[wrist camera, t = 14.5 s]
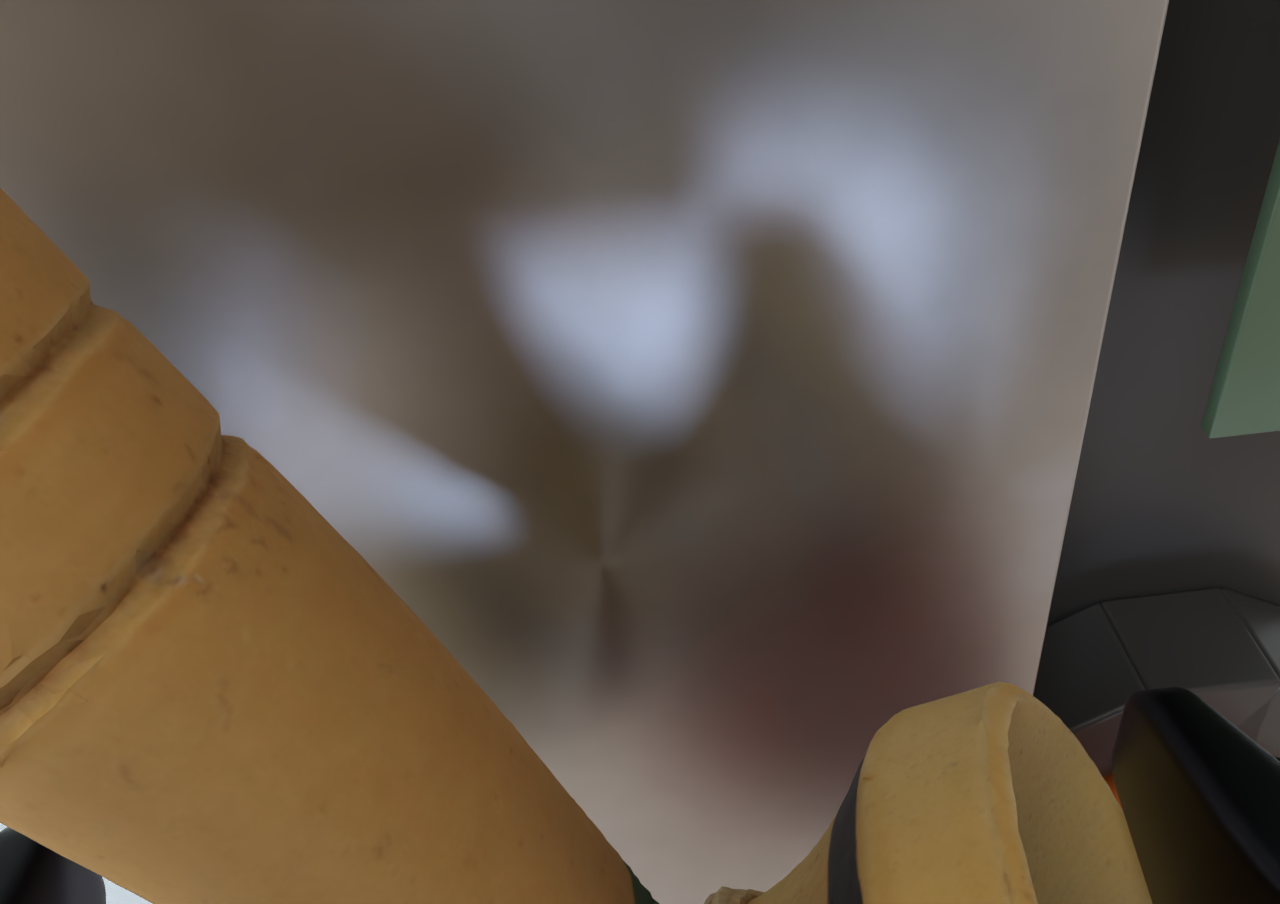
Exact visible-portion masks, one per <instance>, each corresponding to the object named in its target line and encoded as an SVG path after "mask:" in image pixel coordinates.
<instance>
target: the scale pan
mask: <svg viewBox="0 0 1280 904" xmlns="http://www.w3.org/2000/svg"><path fill="white" fill-rule="evenodd" d="M1168 4H1169V0H0V188H1V189H2V190H3V191H4V192H5V193H6V194H7V195H8V196H9V197H10V198H11V199H12V200H13V201H14V202H15V203H16V204H17V205H18V206H19V207H20V208H21V210H22V211H23V212H24V213H25V214H26V215H27V216H28V217H29V218H30V219H31V220H32V221H33V222H34V223H35V224H36V225H37V226H38V227H39V228H40V229H41V230H42V231H43V232H44V234H45V235H46V236H47V237H48V238H49V239H50V240H51V241H52V242H53V243H54V244H55V245H56V246H57V247H58V248H59V249H60V250H61V251H62V252H63V253H64V254H65V255H66V256H67V257H68V258H69V259H70V260H71V261H72V262H73V263H74V264H75V265H76V266H77V267H78V269H79V270H80V271H81V272H82V273H83V274H84V275H85V276H86V277H87V278H88V280H89V282H90V297H91V301H92V302H93V303H94V305H97V306H101V307H104V308H107V309H110V310H113V311H116V312H117V313H118V314H119V315H120V316H122V317H123V318H124V319H126V320H127V321H129V322H130V323H131V324H132V325H133V326H134V327H136V328H137V329H138V330H139V331H140V332H141V333H142V334H143V335H144V336H145V337H146V338H147V339H148V340H149V341H150V342H151V343H152V344H153V345H154V346H155V347H156V348H157V349H158V350H159V351H160V352H161V353H162V354H163V355H164V356H165V357H166V358H167V359H168V360H169V361H170V362H171V363H172V364H173V365H174V366H175V367H176V368H177V369H178V370H179V371H180V372H181V373H182V375H183V376H184V377H185V378H186V379H187V380H188V381H189V382H190V383H191V384H192V385H193V386H194V387H195V388H196V389H197V390H198V391H199V392H200V393H201V394H202V395H203V396H204V397H205V398H206V399H207V400H208V402H209V403H210V404H211V405H212V406H213V407H214V408H215V409H216V411H217V412H218V413H219V417H220V426H221V435H228V436H235V437H239V438H242V439H243V440H244V441H245V442H246V443H247V444H248V445H249V446H250V447H252V448H253V449H255V450H257V451H258V452H259V453H260V454H261V455H262V456H263V457H264V458H265V459H266V460H267V461H268V462H270V463H271V464H272V465H273V466H274V467H275V468H276V469H277V470H278V471H279V472H280V473H281V474H282V475H283V476H284V477H285V478H286V479H287V480H288V481H289V482H290V483H291V484H292V485H293V486H294V487H295V488H296V489H297V490H298V491H299V492H300V493H301V494H302V495H303V496H304V497H305V498H306V499H307V500H308V501H309V502H310V503H311V505H312V506H313V507H314V508H315V509H316V510H317V511H318V512H319V513H320V514H321V515H322V516H323V517H324V518H325V519H326V520H327V521H328V522H329V524H330V525H331V526H332V527H333V528H334V529H335V530H336V531H337V532H338V533H339V534H340V535H341V536H342V537H343V538H344V539H345V540H346V541H347V542H348V543H349V544H350V545H351V546H352V547H353V548H354V549H355V550H356V551H357V552H358V553H359V554H360V555H361V556H362V557H363V558H364V559H365V560H366V561H367V562H368V563H369V564H370V566H371V567H372V568H373V569H374V570H375V571H376V572H377V573H378V574H379V575H380V576H381V577H382V579H383V580H384V581H385V582H386V583H387V584H388V585H389V586H390V587H391V588H392V589H393V591H394V592H395V593H396V594H397V595H398V596H399V597H400V598H401V599H402V600H403V602H404V603H405V604H406V605H407V606H408V607H409V608H410V609H411V610H412V611H413V612H414V613H415V614H416V616H417V617H418V618H419V619H420V620H421V621H422V622H423V623H424V624H425V625H426V626H427V627H428V628H429V630H430V631H431V632H432V633H433V634H434V635H435V636H436V637H437V638H438V639H439V641H440V642H441V643H442V644H443V645H444V646H445V647H446V649H447V650H448V651H449V652H450V653H451V654H452V656H453V657H454V658H455V659H456V660H457V661H458V663H459V664H460V665H461V666H462V667H463V668H464V669H465V671H466V672H467V673H468V674H469V675H470V676H471V677H472V679H473V680H474V681H475V682H476V683H477V684H478V685H479V686H480V687H481V689H482V690H483V691H484V692H485V693H486V694H487V695H488V696H489V698H490V699H491V700H492V701H493V702H494V704H495V705H496V706H497V707H498V709H499V710H500V711H501V712H502V713H503V715H504V716H505V717H506V718H507V719H508V720H509V721H510V722H511V723H512V724H513V725H514V726H515V728H516V729H517V730H518V732H519V733H520V734H521V735H522V737H523V738H524V739H525V741H526V742H527V743H528V745H529V746H530V747H531V748H532V749H533V750H534V752H535V753H536V754H537V755H538V756H539V758H540V759H541V760H542V761H543V762H544V764H545V765H546V766H547V767H548V769H549V770H550V771H551V772H552V774H553V775H554V776H555V778H556V779H557V780H558V781H559V782H560V784H561V785H562V786H563V787H564V788H565V790H566V791H567V792H568V793H569V795H570V796H571V797H572V798H573V799H574V800H575V802H576V803H577V804H578V805H579V806H580V807H581V808H582V809H583V811H584V812H585V814H586V815H587V817H588V818H589V819H591V820H592V821H593V823H594V824H595V825H596V826H597V828H598V829H599V830H600V831H601V833H602V834H603V835H604V837H605V838H606V840H607V841H608V842H609V843H610V844H611V846H612V847H613V848H614V849H615V850H616V851H617V852H618V853H619V855H620V856H621V858H622V859H623V861H624V862H625V863H626V864H628V865H629V866H630V867H631V869H632V871H633V873H634V875H635V876H637V877H638V879H639V881H640V883H641V884H642V885H643V886H644V887H645V888H646V889H647V890H648V891H650V893H651V895H652V898H653V899H654V900H656V901H657V902H658V903H659V904H704V903H705V900H706V899H707V898H708V896H709V895H710V894H712V893H715V892H717V891H718V890H719V889H720V888H721V886H722V887H729V888H732V889H745V890H748V889H753V890H756V891H761V892H766V891H768V890H769V889H770V888H772V887H773V886H774V885H776V884H777V883H778V882H780V881H781V880H782V879H783V878H785V877H786V876H787V875H788V874H789V873H790V872H791V871H792V870H793V869H794V868H795V867H796V866H797V865H798V864H799V863H801V862H802V861H803V860H804V859H805V858H806V857H807V855H808V854H809V853H810V852H811V850H812V849H813V847H814V846H815V845H816V844H817V843H818V842H819V840H820V838H821V837H822V836H823V834H824V833H825V832H826V830H827V829H828V828H829V826H830V824H831V822H832V820H833V819H834V817H835V816H836V814H837V812H838V810H839V808H840V806H841V804H842V802H843V800H844V798H845V796H846V795H847V793H848V791H849V788H850V786H851V783H852V781H853V778H854V776H855V774H856V771H857V769H858V767H859V764H860V762H861V761H862V759H863V757H864V755H865V754H866V752H867V749H868V747H869V744H870V742H871V740H872V739H873V737H874V735H875V734H876V732H877V731H878V730H879V729H880V728H881V727H882V726H883V725H884V724H885V723H887V722H888V721H889V720H890V719H891V718H892V717H893V716H894V715H895V714H897V713H899V712H901V711H902V710H904V709H907V708H910V707H913V706H917V705H920V704H924V703H928V702H931V701H934V700H938V699H941V698H945V697H948V696H952V695H955V694H958V693H962V692H966V691H969V690H972V689H975V688H979V687H982V686H985V685H988V684H992V683H996V682H1004V683H1011V684H1014V685H1016V686H1018V687H1019V688H1021V689H1023V690H1025V691H1026V692H1028V693H1029V694H1031V695H1032V696H1033V693H1034V688H1035V683H1036V678H1037V673H1038V668H1039V663H1040V658H1041V653H1042V647H1043V642H1044V637H1045V632H1046V627H1047V622H1048V617H1049V612H1050V607H1051V601H1052V596H1053V591H1054V586H1055V581H1056V576H1057V571H1058V566H1059V561H1060V556H1061V550H1062V545H1063V540H1064V535H1065V530H1066V525H1067V520H1068V515H1069V510H1070V504H1071V499H1072V494H1073V489H1074V484H1075V479H1076V474H1077V469H1078V464H1079V458H1080V453H1081V448H1082V443H1083V438H1084V433H1085V428H1086V423H1087V418H1088V412H1089V407H1090V402H1091V397H1092V392H1093V387H1094V382H1095V377H1096V372H1097V367H1098V361H1099V356H1100V351H1101V346H1102V341H1103V336H1104V331H1105V326H1106V321H1107V315H1108V310H1109V305H1110V300H1111V295H1112V290H1113V285H1114V280H1115V275H1116V269H1117V264H1118V259H1119V254H1120V249H1121V244H1122V239H1123V234H1124V229H1125V223H1126V218H1127V213H1128V208H1129V203H1130V198H1131V193H1132V188H1133V183H1134V177H1135V172H1136V167H1137V162H1138V157H1139V152H1140V147H1141V142H1142V137H1143V132H1144V126H1145V121H1146V116H1147V111H1148V106H1149V101H1150V96H1151V91H1152V86H1153V80H1154V75H1155V70H1156V65H1157V60H1158V55H1159V50H1160V45H1161V40H1162V34H1163V29H1164V24H1165V19H1166V14H1167V9H1168Z"/></svg>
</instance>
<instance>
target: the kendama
mask: <svg viewBox="0 0 1280 904" xmlns="http://www.w3.org/2000/svg"><path fill="white" fill-rule="evenodd" d="M0 823H2V824H4V825H6V826H7V827H9V828H11V829H13V830H15V831H17V832H19V833H21V834H23V835H25V836H27V837H29V838H30V839H32V840H34V841H36V842H38V843H39V844H41V845H43V846H45V847H47V848H49V849H50V850H52V851H54V852H56V853H58V854H60V855H61V856H63V857H65V858H67V859H69V860H71V861H73V862H75V863H77V864H79V865H81V866H83V867H85V868H87V869H89V870H91V871H93V872H95V873H97V874H99V875H101V876H102V877H104V878H106V879H108V880H110V881H111V882H113V883H115V884H117V885H119V886H121V887H123V888H125V889H127V890H129V891H131V892H133V893H135V894H136V895H138V896H140V897H142V898H144V899H145V900H147V901H149V902H151V903H153V904H659V903H658V902H657V901H656V900H654V899H653V898H652V895H651V893H650V891H648V890H647V889H646V888H645V887H644V886H643V885H642V884H641V883H640V881H639V879H638V877H637V876H635V875H634V873H633V871H632V869H631V867H630V866H629V865H628V864H626V863H625V862H624V861H623V859H622V858H621V856H620V855H619V853H618V852H617V851H616V850H615V849H614V848H613V847H612V846H611V844H610V843H609V842H608V841H607V840H606V838H605V837H604V835H603V834H602V833H601V831H600V830H599V829H598V828H597V826H596V825H595V824H594V823H593V821H592V820H591V819H589V818H588V817H587V815H586V814H585V812H584V811H583V809H582V808H581V807H580V806H579V805H578V804H577V803H576V802H575V800H574V799H573V798H572V797H571V796H570V795H569V793H568V792H567V791H566V790H565V788H564V787H563V786H562V785H561V784H560V782H559V781H558V780H557V779H556V778H555V776H554V775H553V774H552V772H551V771H550V770H549V769H548V767H547V766H546V765H545V764H544V762H543V761H542V760H541V759H540V758H539V756H538V755H537V754H536V753H535V752H534V750H533V749H532V748H531V747H530V746H529V745H528V743H527V742H526V741H525V739H524V738H523V737H522V735H521V734H520V733H519V732H518V730H517V729H516V728H515V726H514V725H513V724H512V723H511V722H510V721H509V720H508V719H507V718H506V717H505V716H504V715H503V713H502V712H501V711H500V710H499V709H498V707H497V706H496V705H495V704H494V702H493V701H492V700H491V699H490V698H489V696H488V695H487V694H486V693H485V692H484V691H483V690H482V689H481V687H480V686H479V685H478V684H477V683H476V682H475V681H474V680H473V679H472V677H471V676H470V675H469V674H468V673H467V672H466V671H465V669H464V668H463V667H462V666H461V665H460V664H459V663H458V661H457V660H456V659H455V658H454V657H453V656H452V654H451V653H450V652H449V651H448V650H447V649H446V647H445V646H444V645H443V644H442V643H441V642H440V641H439V639H438V638H437V637H436V636H435V635H434V634H433V633H432V632H431V631H430V630H429V628H428V627H427V626H426V625H425V624H424V623H423V622H422V621H421V620H420V619H419V618H418V617H417V616H416V614H415V613H414V612H413V611H412V610H411V609H410V608H409V607H408V606H407V605H406V604H405V603H404V602H403V600H402V599H401V598H400V597H399V596H398V595H397V594H396V593H395V592H394V591H393V589H392V588H391V587H390V586H389V585H388V584H387V583H386V582H385V581H384V580H383V579H382V577H381V576H380V575H379V574H378V573H377V572H376V571H375V570H374V569H373V568H372V567H371V566H370V564H369V563H368V562H367V561H366V560H365V559H364V558H363V557H362V556H361V555H360V554H359V553H358V552H357V551H356V550H355V549H354V548H353V547H352V546H351V545H350V544H349V543H348V542H347V541H346V540H345V539H344V538H343V537H342V536H341V535H340V534H339V533H338V532H337V531H336V530H335V529H334V528H333V527H332V526H331V525H330V524H329V522H328V521H327V520H326V519H325V518H324V517H323V516H322V515H321V514H320V513H319V512H318V511H317V510H316V509H315V508H314V507H313V506H312V505H311V503H310V502H309V501H308V500H307V499H306V498H305V497H304V496H303V495H302V494H301V493H300V492H299V491H298V490H297V489H296V488H295V487H294V486H293V485H292V484H291V483H290V482H289V481H288V480H287V479H286V478H285V477H284V476H283V475H282V474H281V473H280V472H279V471H278V470H277V469H276V468H275V467H274V466H273V465H272V464H271V463H270V462H268V461H267V460H266V459H265V458H264V457H263V456H262V455H261V454H260V453H259V452H258V451H257V450H255V449H253V448H252V447H250V446H249V445H248V444H247V443H246V442H245V441H244V440H243V439H242V438H239V437H235V436H228V435H221V426H220V417H219V413H218V412H217V411H216V409H215V408H214V407H213V406H212V405H211V404H210V403H209V402H208V400H207V399H206V398H205V397H204V396H203V395H202V394H201V393H200V392H199V391H198V390H197V389H196V388H195V387H194V386H193V385H192V384H191V383H190V382H189V381H188V380H187V379H186V378H185V377H184V376H183V375H182V373H181V372H180V371H179V370H178V369H177V368H176V367H175V366H174V365H173V364H172V363H171V362H170V361H169V360H168V359H167V358H166V357H165V356H164V355H163V354H162V353H161V352H160V351H159V350H158V349H157V348H156V347H155V346H154V345H153V344H152V343H151V342H150V341H149V340H148V339H147V338H146V337H145V336H144V335H143V334H142V333H141V332H140V331H139V330H138V329H137V328H136V327H134V326H133V325H132V324H131V323H130V322H129V321H127V320H126V319H124V318H123V317H122V316H120V315H119V314H118V313H117V312H116V311H113V310H110V309H107V308H104V307H101V306H97V305H94V303H93V302H92V301H91V297H90V282H89V280H88V278H87V277H86V276H85V275H84V274H83V273H82V272H81V271H80V270H79V269H78V267H77V266H76V265H75V264H74V263H73V262H72V261H71V260H70V259H69V258H68V257H67V256H66V255H65V254H64V253H63V252H62V251H61V250H60V249H59V248H58V247H57V246H56V245H55V244H54V243H53V242H52V241H51V240H50V239H49V238H48V237H47V236H46V235H45V234H44V232H43V231H42V230H41V229H40V228H39V227H38V226H37V225H36V224H35V223H34V222H33V221H32V220H31V219H30V218H29V217H28V216H27V215H26V214H25V213H24V212H23V211H22V210H21V208H20V207H19V206H18V205H17V204H16V203H15V202H14V201H13V200H12V199H11V198H10V197H9V196H8V195H7V194H6V193H5V192H4V191H3V190H2V189H1V188H0ZM704 904H1152V900H1151V897H1150V894H1149V891H1148V888H1147V885H1146V882H1145V879H1144V875H1143V872H1142V869H1141V866H1140V863H1139V860H1138V857H1137V853H1136V850H1135V847H1134V844H1133V841H1132V838H1131V835H1130V832H1129V828H1128V825H1127V822H1126V819H1125V816H1124V813H1123V810H1122V808H1121V807H1120V805H1119V803H1118V802H1117V800H1116V798H1115V797H1114V795H1113V793H1112V791H1111V789H1110V787H1109V785H1108V784H1107V783H1106V781H1105V780H1104V778H1103V777H1102V775H1101V774H1100V772H1099V770H1098V768H1097V767H1096V765H1095V763H1094V762H1093V761H1092V759H1091V758H1090V757H1089V756H1088V754H1087V753H1086V751H1085V749H1084V748H1083V746H1082V745H1081V743H1080V742H1079V740H1078V739H1077V738H1076V737H1075V735H1074V734H1073V733H1072V732H1071V731H1070V729H1069V728H1068V727H1067V726H1066V725H1065V724H1064V723H1063V722H1062V720H1061V719H1060V718H1059V717H1058V716H1057V715H1055V714H1054V713H1053V712H1052V711H1051V710H1050V709H1049V708H1048V707H1047V706H1046V705H1044V704H1043V703H1042V702H1041V701H1039V700H1038V699H1036V698H1035V697H1034V696H1032V695H1031V694H1029V693H1028V692H1026V691H1025V690H1023V689H1021V688H1019V687H1018V686H1016V685H1014V684H1011V683H1004V682H996V683H992V684H988V685H985V686H982V687H979V688H975V689H972V690H969V691H966V692H962V693H958V694H955V695H952V696H948V697H945V698H941V699H938V700H934V701H931V702H928V703H924V704H920V705H917V706H913V707H910V708H907V709H904V710H902V711H901V712H899V713H897V714H895V715H894V716H893V717H892V718H891V719H890V720H889V721H888V722H887V723H885V724H884V725H883V726H882V727H881V728H880V729H879V730H878V731H877V732H876V734H875V735H874V737H873V739H872V740H871V742H870V744H869V747H868V749H867V752H866V754H865V755H864V757H863V759H862V761H861V762H860V764H859V767H858V769H857V771H856V774H855V776H854V778H853V781H852V783H851V786H850V788H849V791H848V793H847V795H846V796H845V798H844V800H843V802H842V804H841V806H840V808H839V810H838V812H837V814H836V816H835V817H834V819H833V820H832V822H831V824H830V826H829V828H828V829H827V830H826V832H825V833H824V834H823V836H822V837H821V838H820V840H819V842H818V843H817V844H816V845H815V846H814V847H813V849H812V850H811V852H810V853H809V854H808V855H807V857H806V858H805V859H804V860H803V861H802V862H801V863H799V864H798V865H797V866H796V867H795V868H794V869H793V870H792V871H791V872H790V873H789V874H788V875H787V876H786V877H785V878H783V879H782V880H781V881H780V882H778V883H777V884H776V885H774V886H773V887H772V888H770V889H769V890H768V891H766V892H761V891H756V890H753V889H748V890H745V889H732V888H729V887H722V886H721V888H720V889H719V890H718V891H717V892H715V893H712V894H710V895H709V896H708V898H707V899H706V900H705V903H704Z"/></svg>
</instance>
